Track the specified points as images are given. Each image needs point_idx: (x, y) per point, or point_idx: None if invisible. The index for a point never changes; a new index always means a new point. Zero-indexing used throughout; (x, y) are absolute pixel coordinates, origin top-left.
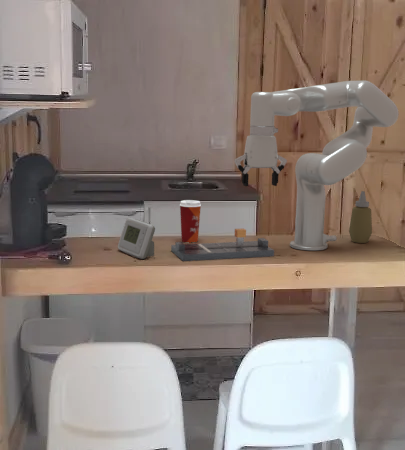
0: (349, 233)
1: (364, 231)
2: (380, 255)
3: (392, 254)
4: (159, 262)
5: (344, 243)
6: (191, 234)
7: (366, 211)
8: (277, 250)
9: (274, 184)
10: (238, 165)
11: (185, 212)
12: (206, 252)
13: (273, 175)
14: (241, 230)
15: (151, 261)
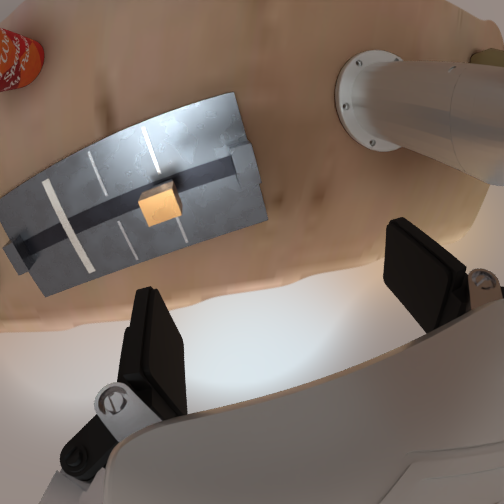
0: (479, 63)
1: None
2: (468, 191)
3: (483, 183)
4: (18, 300)
5: None
6: (14, 87)
7: None
8: (287, 139)
9: (387, 282)
10: (88, 484)
11: None
12: (84, 271)
13: (429, 298)
14: (164, 220)
15: (5, 294)
